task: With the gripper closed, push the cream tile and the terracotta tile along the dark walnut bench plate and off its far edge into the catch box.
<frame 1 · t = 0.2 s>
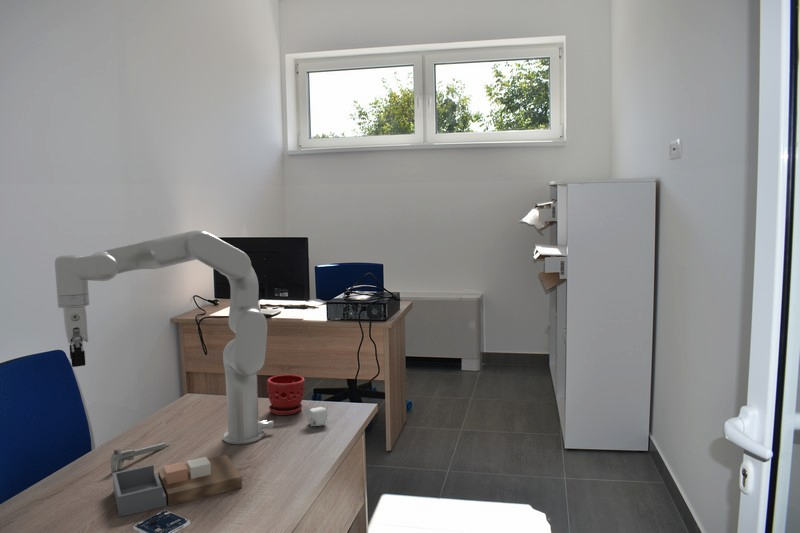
hand: (77, 362, 163), 31 cm above the table, tool pointing down, fingers open, 9 cm apart
catch box: (139, 498, 150), on the table
bench plate: (199, 484, 157), on the table
tile terracotta: (176, 478, 154), point 3 cm above the table, touching bench plate
plant pot: (287, 411, 213), on the table
elephant figurine: (317, 425, 198), on the table
caliper: (142, 459, 174), on the table
tile cream: (199, 473, 157), point 3 cm above the table, touching bench plate
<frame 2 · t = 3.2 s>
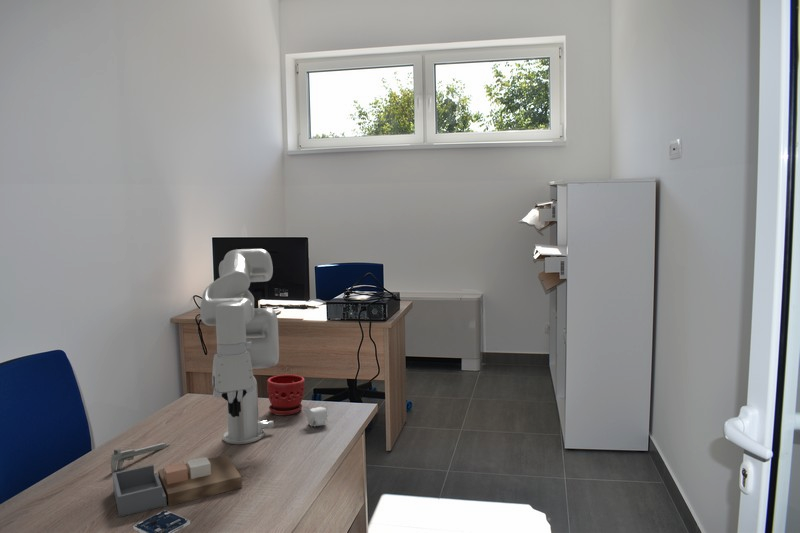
hand: (234, 415, 160), 17 cm above the table, tool pointing down, fingers closed
nothing on the table moved.
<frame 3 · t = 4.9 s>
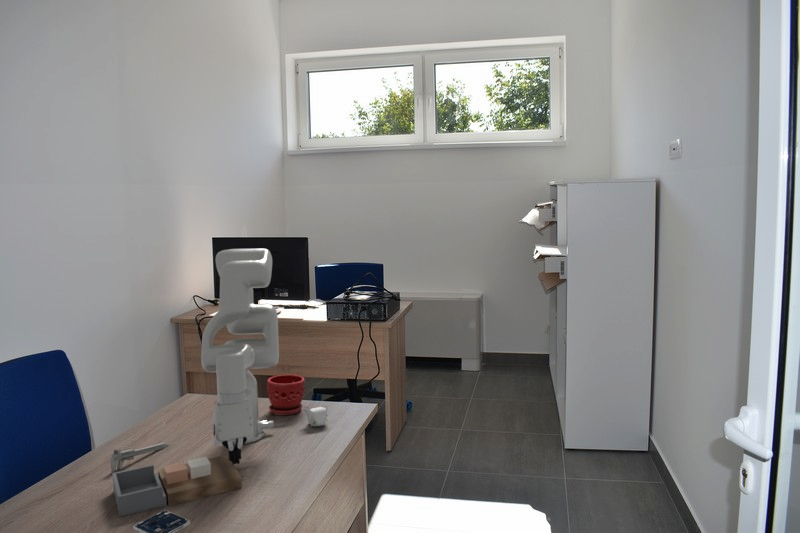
hand: (235, 462, 161), 4 cm above the table, tool pointing down, fingers closed
nothing on the table moved.
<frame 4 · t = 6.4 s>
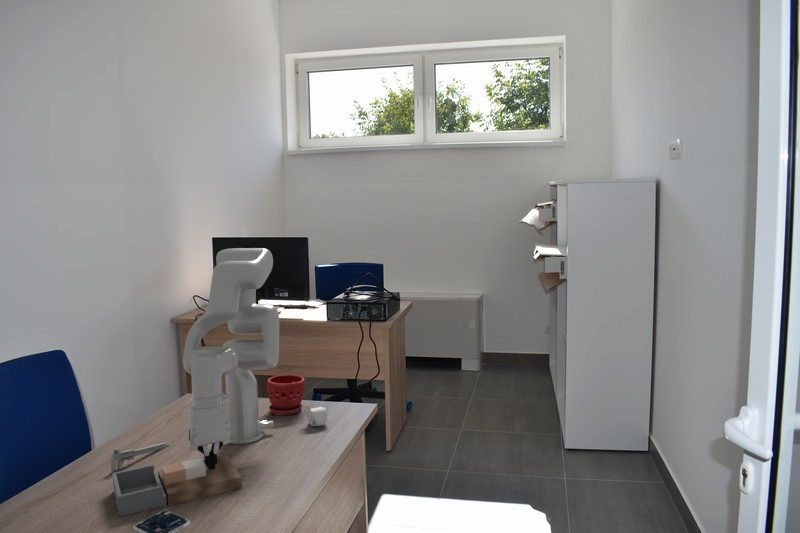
hand: (211, 467, 158), 4 cm above the table, tool pointing down, fingers closed
tile terracotta: (173, 478, 153), point 3 cm above the table, touching tile cream
tile cream: (194, 474, 156), point 3 cm above the table, touching gripper, tile terracotta
everything else where it was.
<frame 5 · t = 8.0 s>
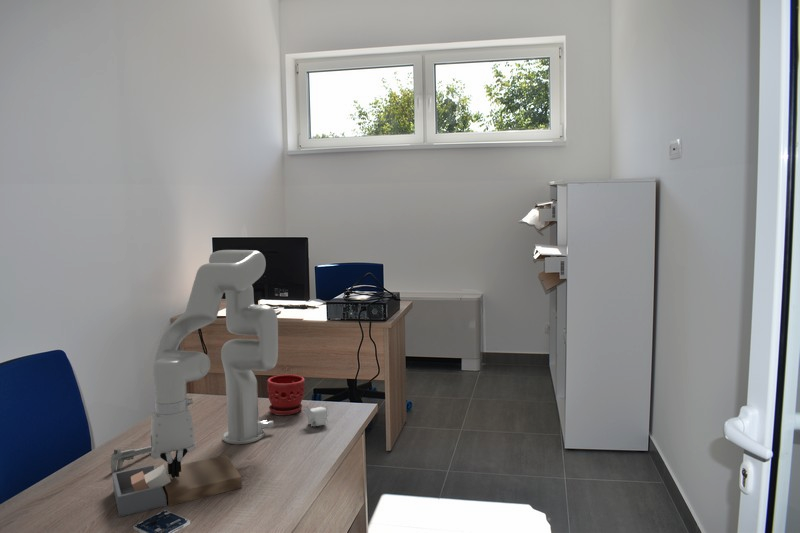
hand: (174, 475, 153), 4 cm above the table, tool pointing down, fingers closed
tile terracotta: (147, 483, 150), point 4 cm above the table, tilted 106°, touching catch box, tile cream
tile cream: (160, 482, 152), point 3 cm above the table, tilted 21°, touching bench plate, tile terracotta
everything else where it was.
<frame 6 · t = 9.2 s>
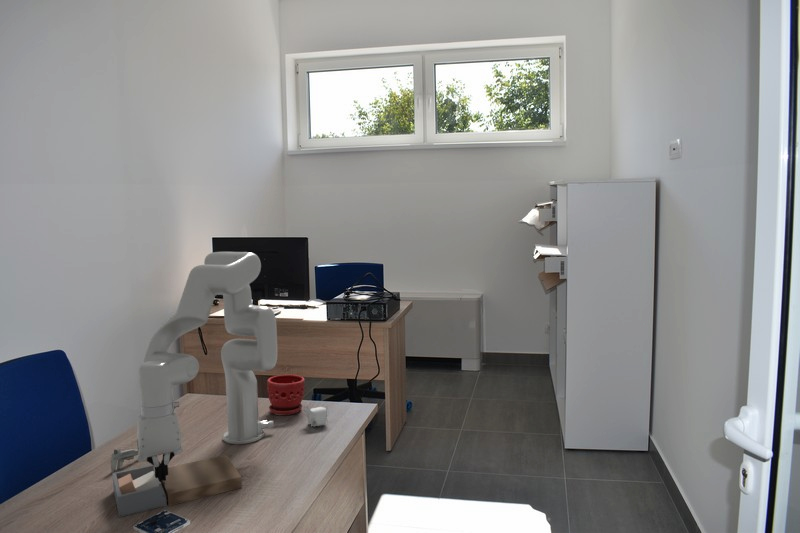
hand: (161, 479, 152), 4 cm above the table, tool pointing down, fingers closed
tile terracotta: (134, 485, 149), point 4 cm above the table, tilted 106°, touching catch box, tile cream
tile cream: (148, 489, 151), point 2 cm above the table, tilted 17°, touching catch box, gripper, tile terracotta
everything else where it was.
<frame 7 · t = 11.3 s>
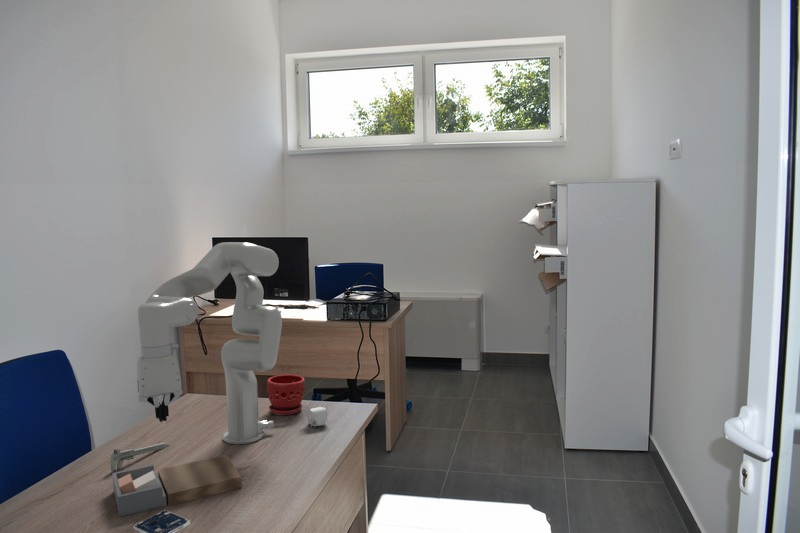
hand: (162, 419, 154), 18 cm above the table, tool pointing down, fingers closed
tile cream: (148, 489, 151), point 2 cm above the table, tilted 18°, touching catch box, tile terracotta
everything else where it was.
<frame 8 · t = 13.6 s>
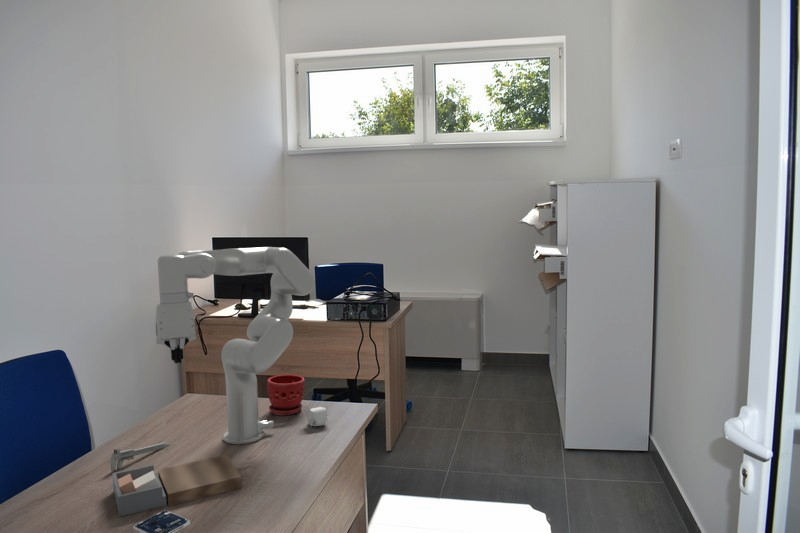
hand: (177, 362, 169), 29 cm above the table, tool pointing down, fingers closed
nothing on the table moved.
at the end: tile cream inside the target area on the catch box (2.3 cm from its centre), point 1.7 cm above the catch box's base; tile terracotta inside the target area on the catch box (0.9 cm from its centre), point 3.6 cm above the catch box's base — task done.
